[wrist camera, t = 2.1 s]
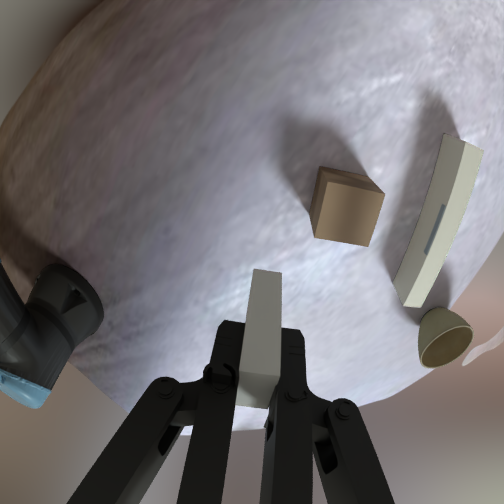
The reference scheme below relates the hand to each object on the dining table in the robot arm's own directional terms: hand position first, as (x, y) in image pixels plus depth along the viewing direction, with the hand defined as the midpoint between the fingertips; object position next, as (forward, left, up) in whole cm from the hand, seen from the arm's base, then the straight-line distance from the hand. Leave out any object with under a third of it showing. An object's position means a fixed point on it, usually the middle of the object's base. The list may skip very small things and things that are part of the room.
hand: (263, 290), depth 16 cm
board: (+21, 0, -19) cm, 28 cm away
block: (+8, 0, -19) cm, 21 cm away
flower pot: (+31, -17, -20) cm, 40 cm away
